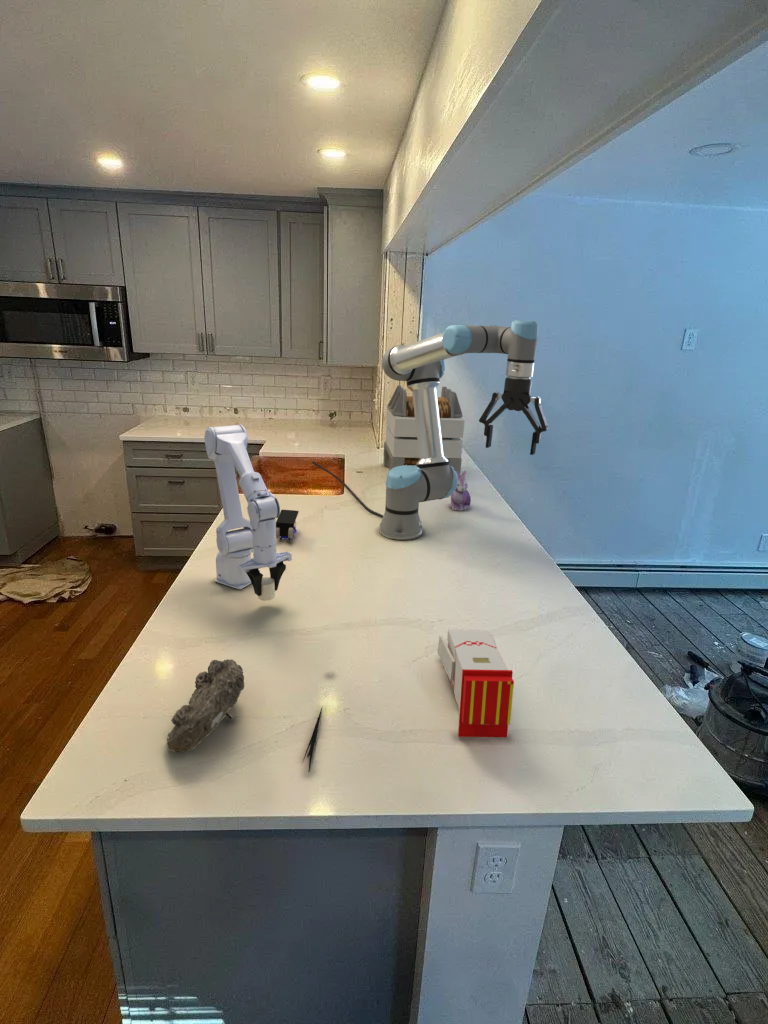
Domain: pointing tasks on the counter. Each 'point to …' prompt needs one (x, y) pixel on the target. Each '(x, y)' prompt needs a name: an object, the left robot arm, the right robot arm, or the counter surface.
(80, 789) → the counter surface
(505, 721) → the toy
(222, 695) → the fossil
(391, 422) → the white slatted crate
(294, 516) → the black wheeled cart
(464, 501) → the figurine
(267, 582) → the can
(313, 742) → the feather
